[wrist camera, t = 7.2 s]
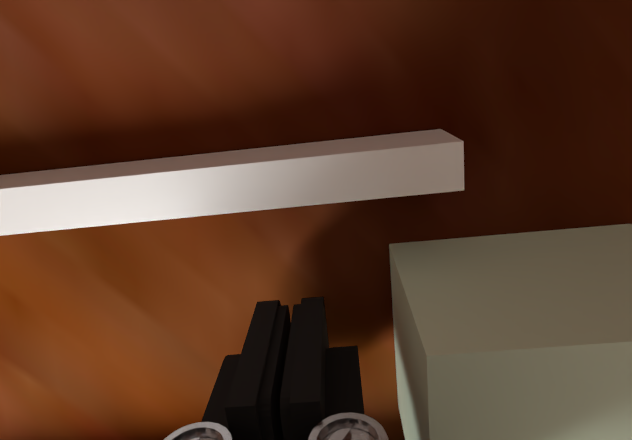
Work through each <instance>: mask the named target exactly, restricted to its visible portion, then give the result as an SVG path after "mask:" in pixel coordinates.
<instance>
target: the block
mask: <svg viewBox="0 0 632 440" xmlns="http://www.w3.org/2000/svg"><path fill="white" fill-rule="evenodd" d="M389 255H390V272H391V289H392V306H393V323H394V340H395V358H396V375H397V392H398V407H399V412H400V417H401V422H402V427H403V431H404V436H405V440H632V224H620V225H608V226H596V227H584V228H572V229H560V230H549V231H537V232H525V233H513V234H501V235H489V236H477V237H465V238H454V239H442V240H430V241H418V242H406V243H394V244H389Z"/></svg>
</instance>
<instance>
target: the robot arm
mask: <svg viewBox="0 0 632 440" xmlns="http://www.w3.org/2000/svg"><path fill="white" fill-rule="evenodd" d="M164 440H389V439H388V436H387V434H386V432H385V430H384V429H383V427H382V425H381V424H380V423H378V422H377V421H376V420H375V419H373V418H371V417H369V416H366V415H364V406H363V396H362V387H361V377H360V367H359V357H358V347H357V346H347V347H333V348H329V342H328V333H327V323H326V314H325V305H324V298H323V297H313V298H302V300H301V304H297V305H294V307H293V313H292V320H291V321H290V314H289V308H288V305H284V306H281V304H280V301H279V300H275V301H263V302H257V304H256V307H255V311H254V314H253V317H252V320H251V324H250V327H249V330H248V333H247V337H246V340H245V343H244V346H243V349H242V353H241V354H237V355H227V356H226V357H225V358H224V361H223V363H222V366H221V369H220V372H219V374H218V377H217V380H216V383H215V385H214V388H213V391H212V394H211V396H210V399H209V402H208V405H207V408H206V410H205V413H204V416H203V419H202V421H201V422H197V423H193V424H190V425H186V426H184V427H182V428H180V429H178V430H176V431H174V432H173V433H171V434H170V435H169V436H168V437H166V438H165V439H164Z"/></svg>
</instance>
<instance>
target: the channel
mask: <svg viewBox="0 0 632 440" xmlns="http://www.w3.org/2000/svg"><path fill="white" fill-rule="evenodd" d="M463 190H464V141H462V140H460V139H459V138H457V137H455V136H453V135H451V134H449V133H448V132H446V131H444V130H442V129H435V130H425V131H416V132H406V133H397V134H387V135H378V136H368V137H359V138H349V139H339V140H330V141H320V142H311V143H301V144H292V145H282V146H273V147H263V148H254V149H244V150H235V151H225V152H216V153H206V154H197V155H187V156H178V157H168V158H159V159H149V160H140V161H130V162H120V163H111V164H101V165H92V166H82V167H73V168H63V169H54V170H44V171H35V172H25V173H16V174H6V175H0V236H1V235H11V234H21V233H31V232H42V231H52V230H62V229H73V228H83V227H93V226H103V225H114V224H124V223H134V222H145V221H155V220H165V219H175V218H186V217H196V216H206V215H217V214H227V213H237V212H247V211H258V210H268V209H278V208H289V207H299V206H309V205H319V204H330V203H340V202H350V201H361V200H371V199H381V198H391V197H402V196H412V195H422V194H433V193H443V192H453V191H463Z"/></svg>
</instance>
